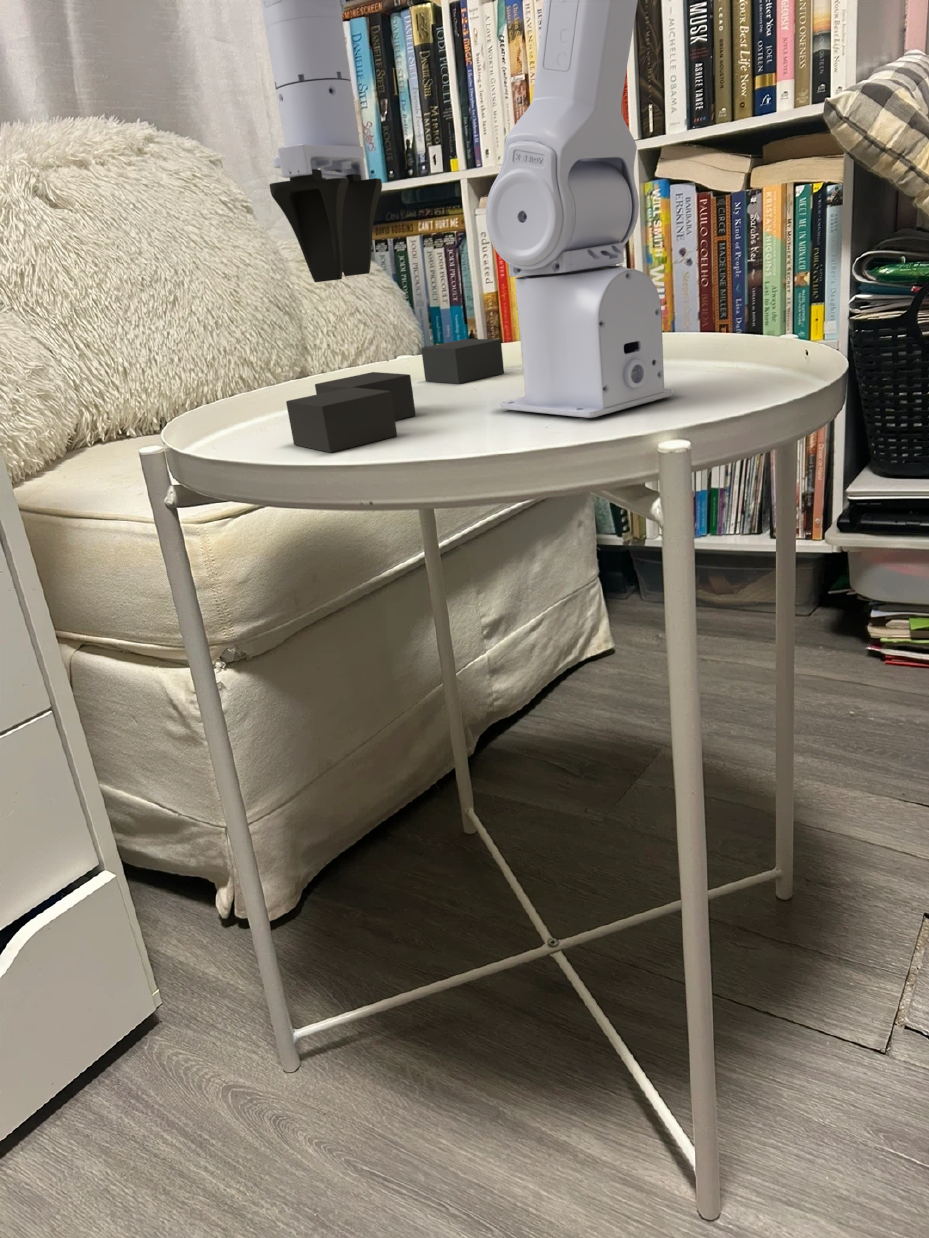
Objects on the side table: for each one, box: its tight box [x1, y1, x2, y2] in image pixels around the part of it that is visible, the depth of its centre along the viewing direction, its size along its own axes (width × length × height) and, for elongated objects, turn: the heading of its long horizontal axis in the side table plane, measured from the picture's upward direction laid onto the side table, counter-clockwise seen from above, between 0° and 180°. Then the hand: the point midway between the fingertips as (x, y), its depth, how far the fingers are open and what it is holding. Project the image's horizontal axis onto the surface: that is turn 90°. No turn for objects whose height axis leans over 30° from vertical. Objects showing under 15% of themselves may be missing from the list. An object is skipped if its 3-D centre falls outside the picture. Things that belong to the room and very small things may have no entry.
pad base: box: [420, 338, 505, 385], centre depth 85 cm, size 5×5×3 cm
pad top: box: [314, 371, 417, 421], centre depth 70 cm, size 5×5×3 cm
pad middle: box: [286, 387, 398, 454], centre depth 63 cm, size 5×5×3 cm
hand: (343, 278), depth 76 cm, fingers open, 7 cm apart
